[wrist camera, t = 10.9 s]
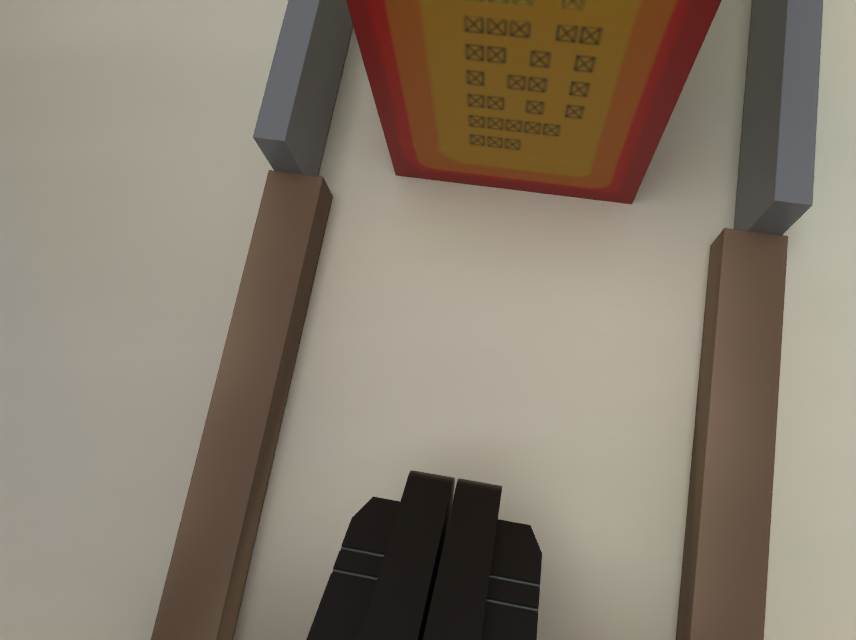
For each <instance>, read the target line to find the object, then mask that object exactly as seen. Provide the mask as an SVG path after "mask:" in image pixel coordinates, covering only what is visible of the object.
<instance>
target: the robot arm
mask: <svg viewBox="0 0 856 640" xmlns="http://www.w3.org/2000/svg"><path fill="white" fill-rule="evenodd" d="M454 484H455V478H452V477H446V476H441V475H435V474H429V473H424V472H418V471H412V470H411V471H410V473H409V476H408V479H407V482H406V486H405V489H404V492H403V496H402V499H401V502H399V501H393V500H388V499H382V498H377V497H373V498H372V499H370V500H369V501H368V502H367V503H366V504H365V505H364V506H363V507H362V508H361V509H360V510H359V511H358V512H357V513H356V514H355V515H354V516H353V517H352V519H351V522H350V524H349V527H348V530H347V532H346V535H345V538H344V540H343V543H342V547H341V551H339V554H338V557H337V559H336V562H335V565H334V567H333V572H332V573H331V575H330V578H329V581H328V583H327V586H326V589H325V591H324V594H323V597H322V599H321V602H320V605H319V608H318V610H317V613H316V616H315V618H314V621H313V624H312V626H311V629H310V632H309V634H308V637H307V640H536V637H537V622H538V606H539V591H540V589H539V586H540V576H541V560H542V552H541V550H540V547H539V545H538V543H537V540H536V538H535V535H534V533H533V531H532V528H531V526H530V525H526V524H520V523H515V522H509V521H504V520H498V512H499V505H500V498H501V491H502V486H498V485H492V484H487V483H481V482H476V481H470V480H464V479H459V478H458V481H457V485H456V489H455V494H454V499H453V493H454ZM452 502H453V503H452Z"/></svg>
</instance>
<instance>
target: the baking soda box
mask: <svg viewBox="0 0 856 640" xmlns="http://www.w3.org/2000/svg"><path fill="white" fill-rule="evenodd" d="M346 2H347V5H348V9H349V12H350V16H351V19H352V23H353V26H354V30H355V33H356V37H357V40H358V44H359V47H360V51H361V55H362V58H363V62H364V65H365V69H366V72H367V76H368V79H369V83H370V86H371V90H372V93H373V97H374V100H375V104H376V107H377V111H378V114H379V118H380V121H381V125H382V128H383V132H384V135H385V139H386V142H387V146H388V149H389V153H390V156H391V160H392V164H393V167H394V171H395V174H396V175H399V176H407V177H415V178H423V179H431V180H440V181H448V182H456V183H464V184H472V185H480V186H488V187H497V188H505V189H513V190H521V191H529V192H537V193H545V194H554V195H562V196H570V197H578V198H586V199H594V200H602V201H611V202H619V203H627V204H632V202H633V200H634V198H635V196H636V193H637V191H638V189H639V186H640V184H641V182H642V180H643V177H644V175H645V173H646V171H647V168H648V166H649V164H650V161H651V159H652V157H653V155H654V152H655V150H656V148H657V146H658V143H659V141H660V139H661V136H662V134H663V132H664V130H665V127H666V125H667V123H668V121H669V118H670V116H671V114H672V111H673V109H674V107H675V105H676V102H677V100H678V98H679V96H680V93H681V91H682V89H683V86H684V84H685V82H686V80H687V77H688V75H689V73H690V71H691V68H692V66H693V64H694V61H695V59H696V57H697V55H698V52H699V50H700V48H701V46H702V43H703V41H704V39H705V36H706V34H707V32H708V30H709V27H710V25H711V23H712V21H713V18H714V16H715V14H716V11H717V9H718V7H719V5H720V2H721V0H346Z"/></svg>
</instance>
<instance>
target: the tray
mask: <svg viewBox="0 0 856 640" xmlns="http://www.w3.org/2000/svg"><path fill="white" fill-rule="evenodd" d="M822 11H823V0H752V10H751V22H750V35H749V47H748V60H747V72H746V85H745V97H744V110H743V122H742V135H741V147H740V160H739V172H738V185H737V197H736V210H735V222H734V229H736V230H743V231H751V232H759V233H767V234H775V235H782V234H783V233H784V232H785V231H787V230H788V229H789V228H790V227H791V226H792V225H793V224H794V223H795V222H796V221H797V220H798V219H799V218H800V217H801V216H802V215H803V214H804V213H805V212H806V211H807V210H808V209H809V208H810V207H811V206H812V201H813V182H814V163H815V144H816V125H817V106H818V87H819V68H820V49H821V30H822ZM352 27H353V23H352V19H351V16H350V12H349V9H348V5H347V2H346V0H289V1H288V5H287V9H286V12H285V16H284V20H283V24H282V28H281V32H280V35H279V39H278V43H277V47H276V51H275V55H274V59H273V62H272V66H271V70H270V74H269V78H268V82H267V85H266V89H265V93H264V97H263V101H262V105H261V108H260V112H259V116H258V120H257V124H256V128H255V132H254V135H253V138H254V139H255V141H256V143H257V144H258V146H259V147H260V149H261V151H262V152H263V154H264V155H265V157H266V158H267V160H268V162H269V163H270V165H271V166H272V168H273V170H274V171H280V172H288V173H296V174H303V175H311V176H318V173H319V169H320V164H321V160H322V156H323V152H324V147H325V143H326V139H327V134H328V130H329V126H330V121H331V117H332V113H333V109H334V104H335V100H336V96H337V91H338V87H339V83H340V79H341V74H342V70H343V66H344V61H345V57H346V53H347V49H348V44H349V40H350V36H351V31H352Z"/></svg>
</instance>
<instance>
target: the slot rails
mask: <svg viewBox="0 0 856 640" xmlns="http://www.w3.org/2000/svg"><path fill="white" fill-rule="evenodd" d="M331 201H332V194H331V192H330V190H329V188H328V186H327V184H326V182H325V180H324V178H323V177H319V176H311V175H303V174H296V173H288V172H280V171H272V170H269V172H268V176H267V180H266V184H265V188H264V192H263V196H262V200H261V204H260V208H259V212H258V216H257V220H256V224H255V228H254V232H253V236H252V240H251V244H250V248H249V252H248V255H247V259H246V263H245V267H244V271H243V275H242V279H241V283H240V287H239V291H238V295H237V299H236V303H235V307H234V311H233V315H232V319H231V323H230V327H229V331H228V335H227V339H226V343H225V347H224V351H223V355H222V359H221V363H220V367H219V371H218V375H217V379H216V383H215V387H214V391H213V395H212V399H211V403H210V407H209V411H208V415H207V419H206V423H205V427H204V431H203V435H202V439H201V443H200V447H199V450H198V454H197V458H196V462H195V466H194V470H193V474H192V478H191V482H190V486H189V490H188V494H187V498H186V502H185V506H184V510H183V514H182V518H181V522H180V526H179V530H178V534H177V538H176V542H175V546H174V550H173V554H172V558H171V562H170V566H169V570H168V574H167V578H166V582H165V586H164V590H163V594H162V598H161V602H160V606H159V610H158V614H157V618H156V622H155V626H154V630H153V634H152V638H151V640H232V639H233V634H234V630H235V625H236V621H237V617H238V612H239V608H240V603H241V599H242V594H243V590H244V586H245V581H246V577H247V572H248V568H249V564H250V559H251V555H252V550H253V546H254V541H255V537H256V533H257V528H258V524H259V519H260V515H261V510H262V506H263V502H264V497H265V493H266V488H267V484H268V479H269V475H270V471H271V466H272V462H273V457H274V453H275V448H276V444H277V440H278V435H279V431H280V426H281V422H282V417H283V413H284V409H285V404H286V400H287V395H288V391H289V387H290V382H291V378H292V373H293V369H294V364H295V360H296V356H297V351H298V347H299V342H300V338H301V333H302V329H303V325H304V320H305V316H306V311H307V307H308V302H309V298H310V294H311V289H312V285H313V280H314V276H315V271H316V267H317V263H318V258H319V254H320V249H321V245H322V240H323V236H324V232H325V227H326V223H327V218H328V214H329V210H330V205H331ZM787 244H788V236H783V235H775V234H767V233H759V232H751V231H743V230H736V229H728V228H724V229H723V231H722V232H721V233H720V234H719V236H718V237H717V238H716V239H715V241H714V242H713V243H712V245H711V248H710V260H709V271H708V282H707V294H706V305H705V316H704V328H703V339H702V351H701V362H700V373H699V385H698V396H697V407H696V419H695V430H694V442H693V453H692V464H691V476H690V487H689V498H688V510H687V521H686V533H685V544H684V555H683V567H682V578H681V589H680V601H679V612H678V624H677V635H676V640H763V639H764V623H765V606H766V590H767V573H768V557H769V540H770V524H771V507H772V491H773V474H774V458H775V441H776V425H777V408H778V392H779V376H780V359H781V343H782V326H783V310H784V293H785V277H786V260H787Z"/></svg>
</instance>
